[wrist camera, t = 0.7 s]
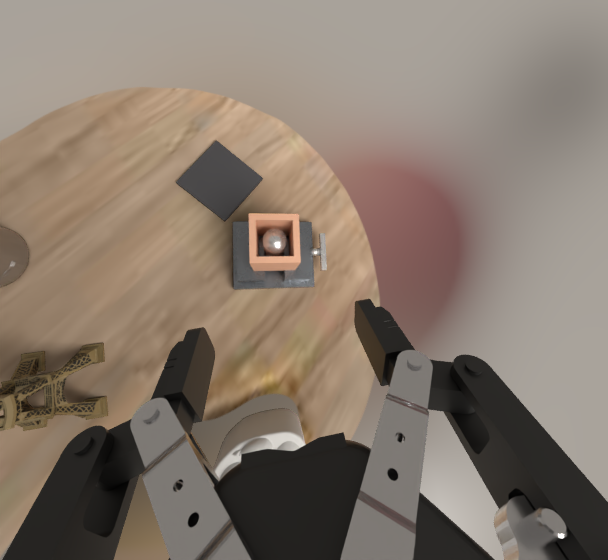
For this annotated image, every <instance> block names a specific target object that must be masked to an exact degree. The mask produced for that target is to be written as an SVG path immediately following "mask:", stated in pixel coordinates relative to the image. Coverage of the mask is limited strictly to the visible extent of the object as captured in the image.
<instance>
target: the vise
mask: <svg viewBox="0 0 608 560" xmlns="http://www.w3.org/2000/svg"><path fill="white" fill-rule="evenodd" d="M299 231H300V256H301V263H300V264H299V266H298V267H297V268H296V270H283V271H253V269H252V267H251V265H250V257H249V222H238V221H237V222H233V277H234V289H235V290H240V289H271V288H303V287H314V269H313V256H320V264H321V271H326V270H327V266H326V245H325V233H320V234H319V243H320V248H313V247H312V224H311V222H299ZM258 238H259V257H269V256H289V236H285V234H284V233H283V232H282V231H281V230H279V229H270V230H268V231H267V232H266V233H265V234H264V236H258Z"/></svg>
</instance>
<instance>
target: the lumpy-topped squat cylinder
mask: <svg viewBox="0 0 608 560" xmlns="http://www.w3.org/2000/svg"><path fill="white" fill-rule="evenodd" d="M304 445H306V444H305V440H304V436H303V432H302V428H301V424H300V420H299V417H298V415H297V414H296V413H295V412H293V411H292V410H289V409H285V408H279V409H272V410H266V411H262V412H258V413H255V414H252V415H249V416H247V417H245V418H243V419H242V420H241V421H240V422H238V423H237V425H235V426H234V427H233V428H232V429H231V430H230V431H229V433H228V434H227V436H226V437H225V439H224V441H223V443H222V446H221V448H220V451H219V454H218V457H217V460H216V463H215V465H214V468H213V470H214V471H215V473H216V474H217V476H218V477H219V479H221V478H222V477H223V476H224V475H225V474H226V473H227V472H229V471H230V470H231V469H232V468H234V467H235V466H236V465H238V464H240V463H241V454H244V453H249V452H254V451H259V450H263V449H276V450H287V451H295V450H297V449H299V448H301V447H303V446H304Z"/></svg>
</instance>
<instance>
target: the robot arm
mask: <svg viewBox="0 0 608 560" xmlns="http://www.w3.org/2000/svg"><path fill="white" fill-rule="evenodd" d="M28 260H29V251H28V247H27V245H26V243H25V241H24V240H23V239H22V237H21V236H20V235H18V234H17V233H16V232H14V231H12V230H10V229H7V228H3V227H0V287H2V286H6V285H8V284H10V283H12V282H13V281H15V280H16V279H17V278H18V277H19V276H20V275H21V274H22V273H23V272H24V270H25V268H26V266H27V263H28ZM355 328H356V332H357V334H358V337H359V339H360V341H361V343H362V345H363V347H364V350H365V352H366V354H367V356H368V358H369V361H370V363H371V365H372V367H373V369H374V371H375V374H376V376H377V378H378V380H379V382H380V385H381V386H385V385H389V390H388V394H387V395H386V398H385V401H384V405H383V409H382V412H381V416H380V420H379V423H378V427H377V430H376V434H375V438H374V442H373V445H372V449H370V448H368V447H367V446H365V445H363V444H360V443H358V442H354V441H350V440H345V436H344V433H339V434H334V435H329V436H325V437H320V438H317V439H316V440H314V441H312V442H310V443H308V444H306V445H304V446H303V447H301V448H299V449H297V450H295V451H287V450H276V449H263V450H259V451H254V452H249V453H244V454H241V463H240V464H238V465H236V466H235V467H234V468H232V469H231V470H230V471H229V472H227V473H226V474H225V475H224V476H223V477H222V478H221V479H219V477H218V476H217V474H216V473H215V471H214V470H213V469H212V467H211V465H210V464H209V462H208V460H207V458H206V457H205V455H204V453H203V451H202V450H201V448H200V446H199V445H198V443H197V441H196V439H195V438H194V436H193V434H192V433H191V429H192V425H193V423H196V422H201V421H202V419H203V414H204V409H205V404H206V399H207V394H208V389H209V384H210V380H211V375H212V370H213V365H214V360H215V350H214V347H213V345H212V342H211V340H210V338H209V336H208V334H207V331H206V329H205V328H204V327H202V328H197V329H191V330H188V331H187V332H186V335H185V338H184V340H183V341H181V342H178V343H177V344H176V345H175V346H174V348H173V349H172V350H171V352H170V354H169V356H168V359H167V362H166V364H165V366H164V370H163V371H162V374H161V376H160V379H159V381H158V384H157V386H156V388H155V391H154V393H153V396H152V398H151V400H150V401H148V402H146V403H145V404H143V405H142V406H141V407H140V408H139V409H138V410H137V411H136V413H135V414H134V416H133V417H132V419H131V420H129V421H127V422H125V423H122V424H120V425H118V426H116V427H114V428H112V429H110V430H106V429H105V428H104V427H103V426H93V427H90V428H88V429H86V430H84V431H83V432H81V433H80V434H78V435H77V436H76V437H75V438H74V439H72V440H71V442H70V443H69V444H68V445H67V446H66V448H65V449H64V451H63V452H62V454H61V456H60V458H59V460H58V461H57V463H56V465H55V467H54V469H53V470H52V472H51V474H50V476H49V477H48V479H47V481H46V483H45V485H44V486H43V488H42V490H41V492H40V493H39V495H38V497H37V499H36V501H35V502H34V504H33V506H32V508H31V509H30V511H29V513H28V515H27V517H26V518H25V520H24V522H23V524H22V525H21V527H20V529H19V531H18V533H17V534H16V536H15V538H14V540H13V542H12V543H11V545H10V547H9V549H8V550H7V552H6V554H5V556H4V558H3V560H113V559H114V556H115V552H116V549H117V546H118V543H119V539H120V536H121V533H122V529H123V526H124V523H125V520H126V516H127V513H128V510H129V506H130V503H131V500H132V496H133V493H134V490H135V487H136V483H137V480H138V477H139V474H141V473H142V477H143V481H144V484H145V487H146V489H147V492H148V495H149V498H150V501H151V504H152V507H153V510H154V513H155V516H156V518H157V521H158V524H159V527H160V530H161V533H162V536H163V539H164V542H165V545H166V547H167V550H168V553H169V555H170V558H169V560H494V559H493V558H492V557H491V556H490V555H489V554H488V553H487V552H486V551H485V550H484V549H483V548H482V547H480V546H479V545H478V544H477V543H476V542H475V541H474V540H473V539H472V538H470V537H469V536H468V535H467V534H466V533H465V532H464V531H463V530H461V529H460V528H459V527H458V526H457V525H456V524H455V523H454V522H453V521H451V520H450V519H449V518H448V517H447V516H446V515H445V514H444V513H443V512H441V511H440V510H439V509H438V508H437V507H436V506H435V505H434V504H432V503H431V502H430V501H429V500H428V499H427V498H426V497H424V495H423V494H421V493H420V484H421V476H422V467H423V459H424V451H425V442H426V435H427V426H428V418H429V412H428V409H430V410H437V411H444V413H445V415H446V416H447V418H448V420H449V422H450V424H451V425H452V427H453V429H454V431H455V432H456V434H457V436H458V437H459V439H460V441H461V443H462V445H463V446H464V448H465V450H466V452H467V453H468V455H469V457H470V459H471V460H472V462H473V464H474V466H475V467H476V469H477V471H478V473H479V475H480V476H481V478H482V480H483V482H484V483H485V485H486V487H487V488H488V490H489V492H490V494H491V495H492V497H493V499H494V501H495V503H496V504H497V506H498V508H499V510H498V511H497V512H496V514H495V517H494V525H495V531H496V534H497V536H498V539H499V541H500V544H501V546H502V549H503V554H504V560H608V502H607V501H606V500H605V498H604V497H603V496H602V495H601V494H600V493H599V492H598V490H597V489H596V488H595V487H594V486H593V485H592V483H591V482H590V481H589V480H588V479H587V478H586V477H585V475H584V474H583V473H582V472H581V471H580V470H579V469H578V467H577V466H576V465H575V464H574V463H573V462H572V460H571V459H570V458H569V457H568V456H567V455H566V454H565V452H564V451H563V450H562V449H561V448H560V447H559V445H558V444H557V443H556V442H555V441H554V440H553V439H552V438H551V436H550V435H549V434H548V433H547V432H546V431H545V429H544V428H543V427H542V426H541V425H540V424H539V422H538V421H537V420H536V419H535V418H534V417H533V416H532V414H531V413H530V412H529V411H528V410H527V409H526V407H525V406H524V405H523V404H522V403H521V402H520V401H519V399H517V397H516V396H515V395H514V394H513V392H512V391H511V390H510V389H509V388H508V387H507V386H506V385H505V383H504V382H503V381H502V380H501V379H500V378H499V376H498V375H497V374H496V373H495V372H494V371H493V369H492V368H491V367H490V366H489V365H488V364H487V363H486V362H484V361H483V360H481V359H479V358H477V357H475V356H471V355H460V356H457V357H456V358H455V359H454V362H444V361H434V360H430V359H429V358H428V357H427V356H426V355H424V354H423V353H421V352H418V351H416V350H415V349H414V348H413V346H412V345H411V343H410V342H409V341H408V339H407V338H406V336H405V335H404V333H403V332H402V330H401V329H400V327H398V325H397V323H396V322H395V321H394V319H393V317H392V316H391V314H390V313H389V312H388V311H386V310H385V309H384V308H382V307H376V308H375V306H374V304H373V303H372V301H371V300H370V299H365V300H360V301H356V302H355Z"/></svg>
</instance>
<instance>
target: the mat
mask: <svg viewBox="0 0 608 560" xmlns="http://www.w3.org/2000/svg"><path fill="white" fill-rule="evenodd" d="M262 180H263V178H262V177H261V176H260V175H258V174H257V173H256V172H255V171H254V170H252V169H251V168H250V167H249V166H247V165H246V164H245V163H244V162H242V161H241V160H240V159H239V158H237V157H236V156H235V155H234V154H232V153H231V152H230V151H229V150H227V149H226V148H225V147H224V146H223V145H221V144H220V143H219V142H218V141H215V142H214V143H213V144H212V146H211V147H210V148H209V149H208V150H207V151H206V152H205V153H204V154H203V155H202V156H201V157H200V158H199V159H198V160H197V161H196V162H195V163H194V164H193V165H192V166H191V167H190V168H189V169H188V170H187V171H186V172H185V173H184V174H183V175H182V176H181V177H180V179H179V180H178V181H177V182H176V183H177V184H178V185H179V186H181V187H182V188H183V189H184V190H186V191H187V192H188V193H190V194H191V195H192V196H193V197H195V198H196V199H197V200H198V201H200V202H201V203H202V204H204V205H205V206H206V207H207V208H209V209H210V210H211V211H212V212H214V213H215V214H216V215H217V216H219V217H220V218H221V219H223V220H224V221H226V220H227V219H228V218H229V217H230V215H231V214H232V213H233V212H234V211H235V210H236V209H237V208H238V206H239V205H240V204H241V203H242V202H243V201H244V200H245V199H246V198H247V196H248V195H249V194H250V193H251V192H252V191H253V190H254V189H255V187H256V186H257V185H258V184H259V183H260V182H261V181H262Z"/></svg>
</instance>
